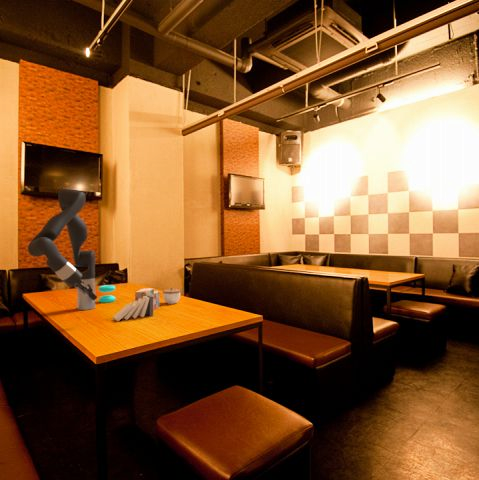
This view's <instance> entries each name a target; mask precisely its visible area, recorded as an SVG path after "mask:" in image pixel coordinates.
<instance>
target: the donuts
mask: <svg viewBox="0 0 479 480" xmlns="http://www.w3.org/2000/svg"><path fill="white" fill-rule="evenodd" d="M115 290H116V286H115V285H114V284H113V285H112V284H106V285H100V286H99V287H98V291H99V292H101V293H110V292H111V293H112V292H113V291H115ZM115 301H116V296H114V295H111V294H109V295H101V296H100V297H98V302H99V303H104V304H107V303H112V302H115Z"/></svg>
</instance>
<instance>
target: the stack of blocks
mask: <svg viewBox="0 0 479 480" xmlns="http://www.w3.org/2000/svg"><path fill="white" fill-rule="evenodd" d="M148 295H151V296H153V311H154V310H156V309H158V308H159V307H160V306H161V305H160V300H161V299H160V290H155V288H150V287H148V288H145V287H144V288H140V289H139V290H137V291H135V294H134V296H135V298H134V300H135V301H138V299H139V298H143V296H148ZM144 316H148V315H147V309H146V312H145V315H144Z"/></svg>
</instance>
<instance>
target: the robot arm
mask: <svg viewBox="0 0 479 480" xmlns="http://www.w3.org/2000/svg"><path fill="white" fill-rule="evenodd" d="M57 195H58V196H57V197H58V199H57V200H58V203H59V206H60V210H61V212H59V213H57V214H55V215H53V216H51V217H50V218H49V219H48V221H46V223H45V224H44V226H43V227H42V229H41V230H40V231H39V233H37V235H36V236H34V237H33V238H32V239H31V241H30V242H29V244H28V245H27V251H28V254H29V255H30V256H32V257H42V256H43V255H44V256H45V257H46V261H45V263H46V265H47V267H48V268H49V269H51V270H52V272H54V273H55V275H56V276H57V277H58V278H59V279H61V280H62V281H63V282H64V283H65V284H66V285H67V286H68V287H72V286H74V289H76V290H77V310H78V311H81V310H82V311H86V310H87V311H88V310H92V309H95V308H96V300H97V299H98V296H97V295H96V252H95V251H94V250H81V247H82V246H83V245H84V244H85V242H86V240H87V238H88V236H89V235H88V234H89V233H88V228H87V225H86V222H85V221H84V220H83V219H82V218H81V217H80V215H78V213H80V211H81V210H83V207H84V206H85V204H86V194H85V193H84V192H83V191H80V190H76V189H75V190H74V189H70V188H62V189H60V191H59V192H58V194H57ZM65 227H66V229H67V233H68V237H69V240H70V245H71V249H72V256H73V262H74V263H73V264H72V263H71V262H70V261H68V259H66V257H65V256H63V255H62V254H61V252H60V251H59V249H58V247H57V245H56V243H55V242H54V241H55V240H56V239H58V237H59V236H60V235H61V233H62V231H63V230H64V228H65ZM76 267H79V268H87V269H86V270H85V271H79V269H77V268H76Z"/></svg>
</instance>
